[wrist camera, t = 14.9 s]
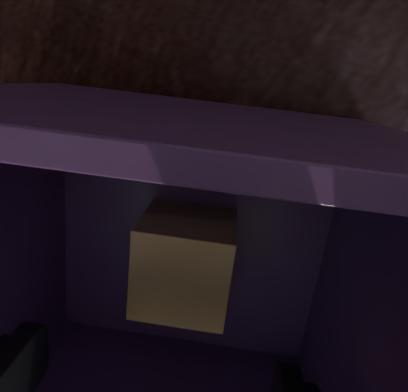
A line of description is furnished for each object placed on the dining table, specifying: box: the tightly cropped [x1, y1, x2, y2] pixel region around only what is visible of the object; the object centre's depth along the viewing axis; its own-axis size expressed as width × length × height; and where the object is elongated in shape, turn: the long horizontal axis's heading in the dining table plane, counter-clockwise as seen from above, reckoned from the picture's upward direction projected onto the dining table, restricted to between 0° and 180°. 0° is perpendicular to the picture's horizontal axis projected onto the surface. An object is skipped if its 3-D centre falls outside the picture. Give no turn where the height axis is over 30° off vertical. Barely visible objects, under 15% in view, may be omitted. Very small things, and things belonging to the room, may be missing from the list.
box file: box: [0, 83, 408, 392], centre depth 16 cm, size 18×17×14 cm
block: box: [126, 198, 237, 334], centre depth 20 cm, size 5×5×5 cm
